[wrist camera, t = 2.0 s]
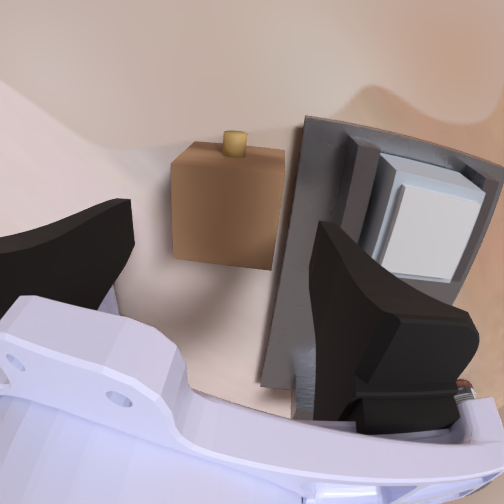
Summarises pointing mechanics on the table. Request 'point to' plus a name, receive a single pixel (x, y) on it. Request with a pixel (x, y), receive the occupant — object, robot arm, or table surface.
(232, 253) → the block
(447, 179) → the ram
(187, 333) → the table surface
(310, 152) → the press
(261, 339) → the table surface
